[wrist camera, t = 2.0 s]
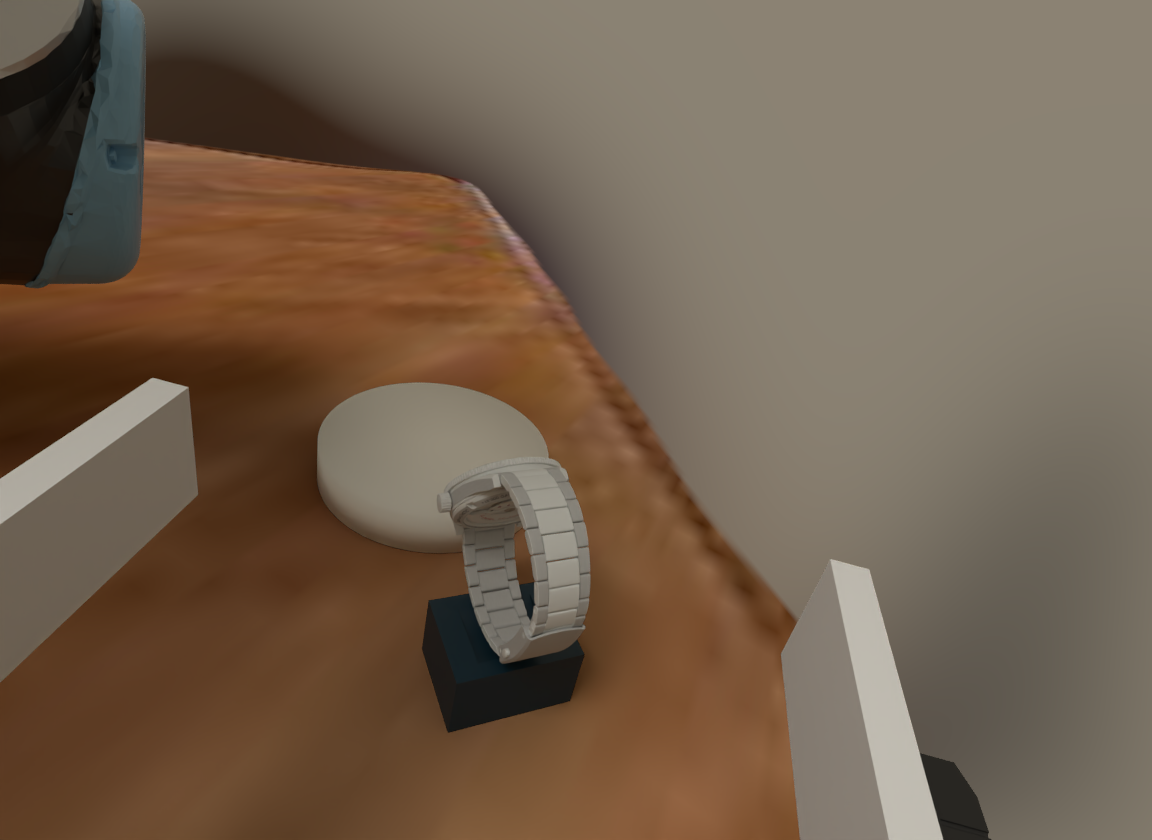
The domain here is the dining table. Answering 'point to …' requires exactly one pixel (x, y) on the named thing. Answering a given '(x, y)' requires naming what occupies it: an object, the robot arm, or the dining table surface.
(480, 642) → the watch
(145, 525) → the robot arm
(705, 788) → the dining table surface
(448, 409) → the display plinth
